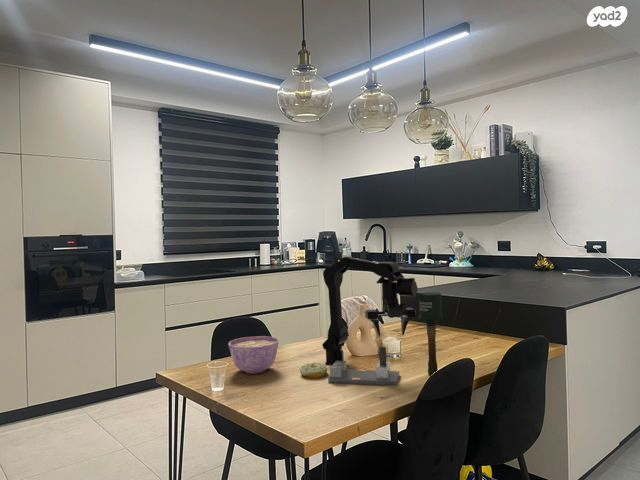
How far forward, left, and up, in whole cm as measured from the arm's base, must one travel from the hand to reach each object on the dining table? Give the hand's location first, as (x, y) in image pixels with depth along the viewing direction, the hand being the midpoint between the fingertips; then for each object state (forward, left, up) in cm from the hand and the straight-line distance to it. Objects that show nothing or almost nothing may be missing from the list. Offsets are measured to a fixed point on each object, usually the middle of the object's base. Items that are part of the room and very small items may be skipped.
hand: (390, 335), depth 181 cm
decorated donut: (-29, -9, -14) cm, 33 cm away
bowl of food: (-54, -7, -14) cm, 56 cm away
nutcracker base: (-9, -12, -13) cm, 20 cm away
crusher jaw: (-2, -12, -12) cm, 17 cm away
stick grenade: (+15, -4, -14) cm, 21 cm away
